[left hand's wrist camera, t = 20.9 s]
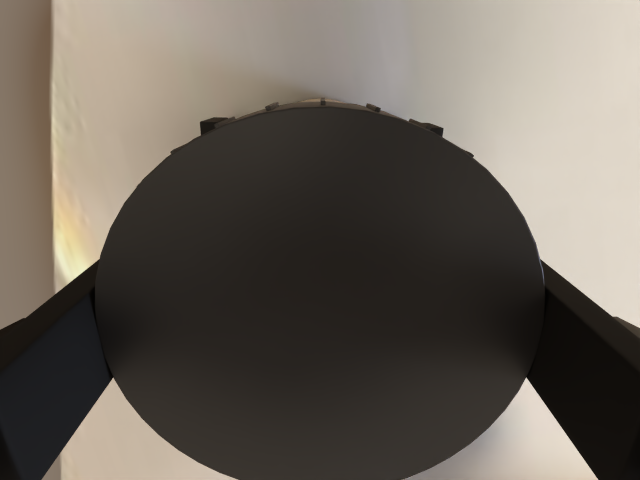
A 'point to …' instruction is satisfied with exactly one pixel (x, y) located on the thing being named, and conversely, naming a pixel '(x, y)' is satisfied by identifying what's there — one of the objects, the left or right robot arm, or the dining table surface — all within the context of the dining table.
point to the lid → (319, 296)
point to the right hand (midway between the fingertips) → (321, 122)
